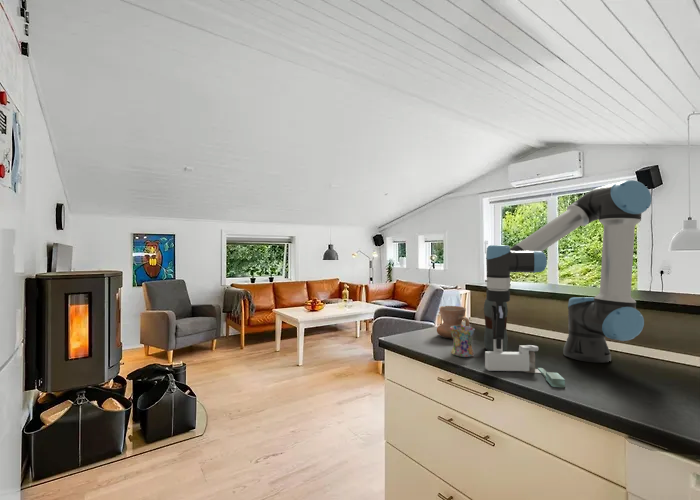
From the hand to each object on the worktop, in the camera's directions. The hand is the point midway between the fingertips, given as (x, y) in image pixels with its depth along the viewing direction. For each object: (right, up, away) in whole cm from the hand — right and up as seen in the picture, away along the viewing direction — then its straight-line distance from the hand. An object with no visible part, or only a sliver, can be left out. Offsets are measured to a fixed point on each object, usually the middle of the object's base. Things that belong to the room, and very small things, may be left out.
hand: (498, 357), depth 121 cm
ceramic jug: (-2, -5, +44) cm, 45 cm away
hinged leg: (+4, -3, -3) cm, 6 cm away
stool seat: (+8, -4, -2) cm, 9 cm away
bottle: (+9, -4, +24) cm, 26 cm away
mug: (-8, -4, +17) cm, 19 cm away
